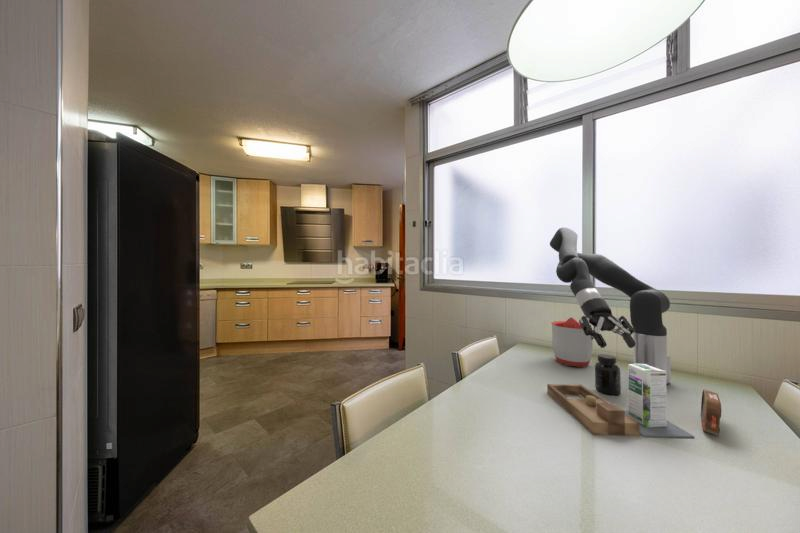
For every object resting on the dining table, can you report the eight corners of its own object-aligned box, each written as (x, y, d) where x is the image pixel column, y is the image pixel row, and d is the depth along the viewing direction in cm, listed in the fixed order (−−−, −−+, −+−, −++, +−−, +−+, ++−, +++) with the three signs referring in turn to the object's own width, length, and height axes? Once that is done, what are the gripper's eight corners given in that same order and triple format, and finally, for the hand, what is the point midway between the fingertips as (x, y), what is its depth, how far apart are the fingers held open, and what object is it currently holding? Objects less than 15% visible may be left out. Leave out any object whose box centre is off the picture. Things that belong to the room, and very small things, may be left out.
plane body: (581, 393, 91) (581, 375, 91) (639, 435, 68) (639, 411, 68) (547, 393, 91) (547, 375, 91) (593, 434, 68) (593, 410, 68)
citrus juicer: (600, 372, 109) (599, 322, 110) (550, 365, 118) (550, 318, 119) (597, 361, 123) (596, 316, 123) (552, 355, 132) (552, 313, 132)
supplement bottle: (611, 388, 95) (611, 353, 95) (626, 397, 88) (625, 359, 88) (590, 387, 95) (590, 352, 96) (603, 396, 89) (602, 359, 89)
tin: (700, 414, 78) (699, 384, 78) (717, 418, 75) (716, 387, 75) (703, 437, 67) (702, 402, 67) (723, 442, 65) (722, 406, 65)
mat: (651, 412, 79) (651, 411, 79) (694, 437, 67) (694, 436, 67) (608, 411, 79) (608, 410, 79) (643, 436, 67) (643, 435, 67)
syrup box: (626, 416, 76) (626, 363, 76) (646, 415, 76) (646, 362, 76) (646, 428, 70) (645, 370, 70) (668, 427, 70) (667, 370, 71)
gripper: (607, 310, 97) (635, 352, 86) (567, 310, 98) (588, 352, 86) (619, 297, 92) (650, 340, 81) (576, 297, 92) (600, 340, 81)
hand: (618, 346), depth 83 cm, fingers open, 8 cm apart
